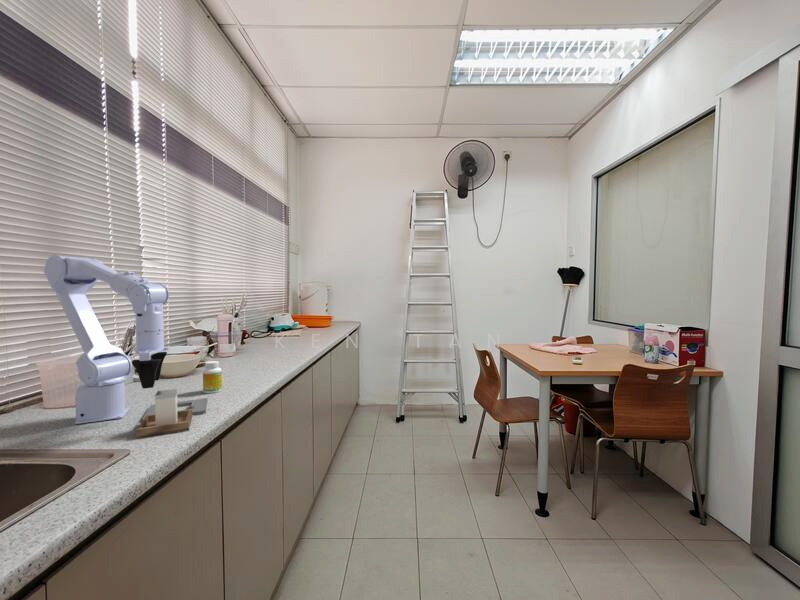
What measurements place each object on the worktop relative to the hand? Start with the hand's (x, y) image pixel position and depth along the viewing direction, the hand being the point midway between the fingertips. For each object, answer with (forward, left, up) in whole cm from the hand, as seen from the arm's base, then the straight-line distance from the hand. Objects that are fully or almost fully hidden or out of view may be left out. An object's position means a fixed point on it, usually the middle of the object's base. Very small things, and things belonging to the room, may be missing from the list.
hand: (151, 384), depth 87 cm
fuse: (+4, -7, -9) cm, 12 cm away
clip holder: (+5, +5, -9) cm, 12 cm away
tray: (+4, -7, -9) cm, 12 cm away
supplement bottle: (+13, +22, -10) cm, 27 cm away
